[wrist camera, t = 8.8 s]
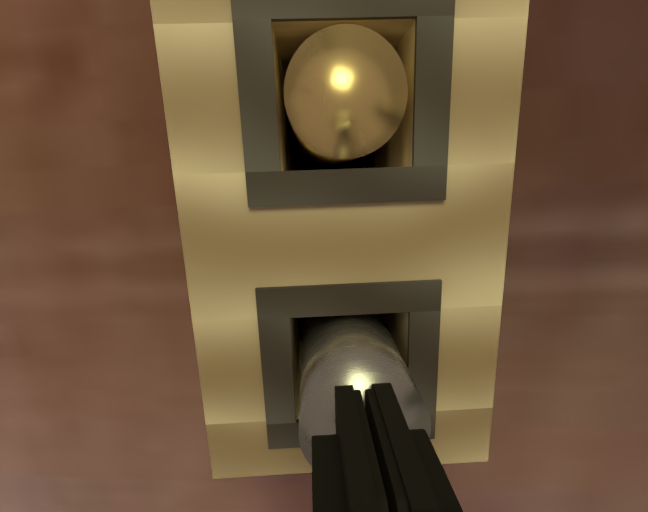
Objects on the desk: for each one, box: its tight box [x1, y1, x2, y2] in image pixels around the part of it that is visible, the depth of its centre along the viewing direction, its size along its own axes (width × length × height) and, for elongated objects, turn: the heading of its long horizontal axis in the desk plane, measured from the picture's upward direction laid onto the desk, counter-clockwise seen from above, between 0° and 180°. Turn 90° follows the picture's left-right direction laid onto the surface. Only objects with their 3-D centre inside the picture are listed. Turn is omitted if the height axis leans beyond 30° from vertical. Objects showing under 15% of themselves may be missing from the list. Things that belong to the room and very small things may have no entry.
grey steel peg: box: [299, 314, 431, 466], centre depth 14 cm, size 4×4×7 cm
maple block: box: [150, 0, 529, 479], centre depth 16 cm, size 20×12×7 cm, turn 2°
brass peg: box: [284, 24, 408, 164], centre depth 14 cm, size 4×4×7 cm
